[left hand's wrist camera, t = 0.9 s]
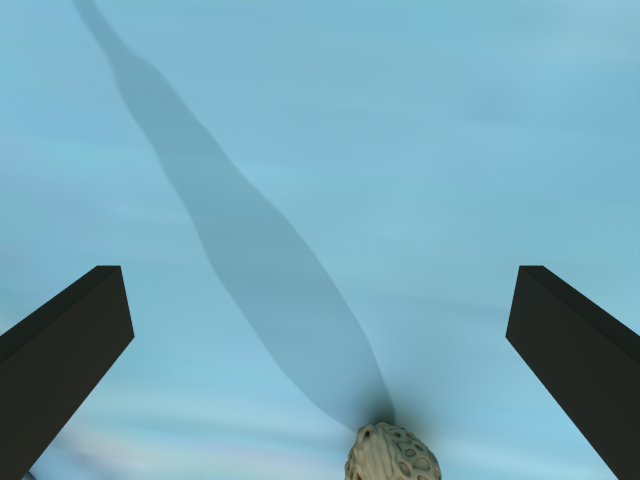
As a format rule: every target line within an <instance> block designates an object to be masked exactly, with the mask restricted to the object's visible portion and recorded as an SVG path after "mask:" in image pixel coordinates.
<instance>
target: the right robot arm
mask: <svg viewBox="0 0 640 480" xmlns="http://www.w3.org/2000/svg"><path fill="white" fill-rule="evenodd" d="M22 480H34V479H33V478H32V477H31V475H30V474H29V473H28V472H27V473H26V475H25V476H24V477H23V478H22Z"/></svg>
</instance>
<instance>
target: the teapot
mask: <svg viewBox="0 0 640 480" xmlns="http://www.w3.org/2000/svg"><path fill="white" fill-rule="evenodd" d="M345 480H442V475H441V471H440V468H439V464H438V461H437V459H436V457H435V456H434V454H433V453H432V452H431V451H430V450H429V449H428V447H427V446H426V445H424V444H423V443H421V441H420V440H419V439H418V438H416V437H415V436H414V435H413V434H412V433H410V432H408V431H406V430H405V429H404V428H400V427H397V426H393V425H389V424H387V423H385V422H380V423H378V424H376V425H372V424H369V423H368V424H367V426H365V427H363V428H360V429H359V430H358V435H357V440H356V443H355V445H354V446H353V448H352V449H351V450H350V452H349V455H348V461H347V462H346V464H345Z"/></svg>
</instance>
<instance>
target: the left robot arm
mask: <svg viewBox="0 0 640 480" xmlns="http://www.w3.org/2000/svg"><path fill="white" fill-rule="evenodd" d="M134 337H135V336H134V331H133V326H132V321H131V316H130V311H129V306H128V301H127V296H126V291H125V286H124V281H123V276H122V271H121V266H96V267H95V268H93V269H92V270H90V271H89V272H88V273H86V274H85V275H84V276H82V277H81V278H79V279H78V280H77V281H75V282H74V283H73V284H71V285H70V286H68V287H67V288H66V289H64V290H63V291H62V292H60V293H59V294H57V295H56V296H55V297H53V298H52V299H51V300H49V301H48V302H46V303H45V304H44V305H42V306H41V307H40V308H38V309H37V310H35V311H34V312H33V313H31V314H30V315H29V316H27V317H26V318H25V319H23V320H22V321H20V322H19V323H18V324H16V325H15V326H14V327H12V328H11V329H9V330H8V331H7V332H5V333H4V334H3V335H1V336H0V480H22V478H23V477H24V476H25V475H26V473H27V472H28V471H29V469H30V468H31V467H32V466H33V464H34V463H35V462H36V461H37V459H38V458H39V457H40V456H41V454H42V453H43V452H44V451H45V449H46V448H47V447H48V446H49V444H50V443H51V442H52V440H53V439H54V438H55V437H56V435H57V434H58V433H59V432H60V430H61V429H62V428H63V427H64V425H65V424H66V423H67V422H68V420H69V419H70V418H71V417H72V415H73V414H74V413H75V411H76V410H77V409H78V408H79V406H80V405H81V404H82V403H83V401H84V400H85V399H86V398H87V396H88V395H89V394H90V393H91V391H92V390H93V389H94V388H95V386H96V385H97V384H98V382H99V381H100V380H101V379H102V377H103V376H104V375H105V374H106V372H107V371H108V370H109V369H110V367H111V366H112V365H113V364H114V362H115V361H116V360H117V359H118V357H119V356H120V355H121V354H122V352H123V351H124V350H125V348H126V347H127V346H128V345H129V343H130V342H131V341H132V340H133V338H134ZM505 337H506V338H507V340H508V341H509V342H510V343H511V345H512V346H513V347H514V348H515V350H516V351H517V352H518V354H519V355H520V356H521V357H522V359H523V360H524V361H525V362H526V364H527V365H528V366H529V367H530V369H531V370H532V371H533V372H534V374H535V375H536V376H537V377H538V379H539V380H540V381H541V382H542V384H543V385H544V386H545V388H546V389H547V390H548V391H549V393H550V394H551V395H552V396H553V398H554V399H555V400H556V401H557V403H558V404H559V405H560V406H561V408H562V409H563V410H564V411H565V413H566V414H567V415H568V417H569V418H570V419H571V420H572V422H573V423H574V424H575V425H576V427H577V428H578V429H579V430H580V432H581V433H582V434H583V435H584V437H585V438H586V439H587V440H588V442H589V443H590V444H591V446H592V447H593V448H594V449H595V451H596V452H597V453H598V454H599V456H600V457H601V458H602V459H603V461H604V462H605V463H606V464H607V466H608V467H609V468H610V469H611V471H612V472H613V473H614V475H615V476H616V477H617V478H618V480H640V336H639V335H637V334H636V333H635V332H633V331H632V330H631V329H629V328H628V327H626V326H625V325H624V324H622V323H621V322H620V321H618V320H617V319H615V318H614V317H613V316H611V315H610V314H609V313H607V312H606V311H605V310H603V309H602V308H600V307H599V306H598V305H596V304H595V303H594V302H592V301H591V300H589V299H588V298H587V297H585V296H584V295H583V294H581V293H580V292H578V291H577V290H576V289H574V288H573V287H572V286H570V285H569V284H567V283H566V282H565V281H563V280H562V279H561V278H559V277H558V276H556V275H555V274H554V273H552V272H551V271H550V270H548V269H547V268H545V267H544V266H519V271H518V276H517V281H516V286H515V291H514V296H513V301H512V306H511V311H510V316H509V321H508V326H507V331H506V336H505Z"/></svg>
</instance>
